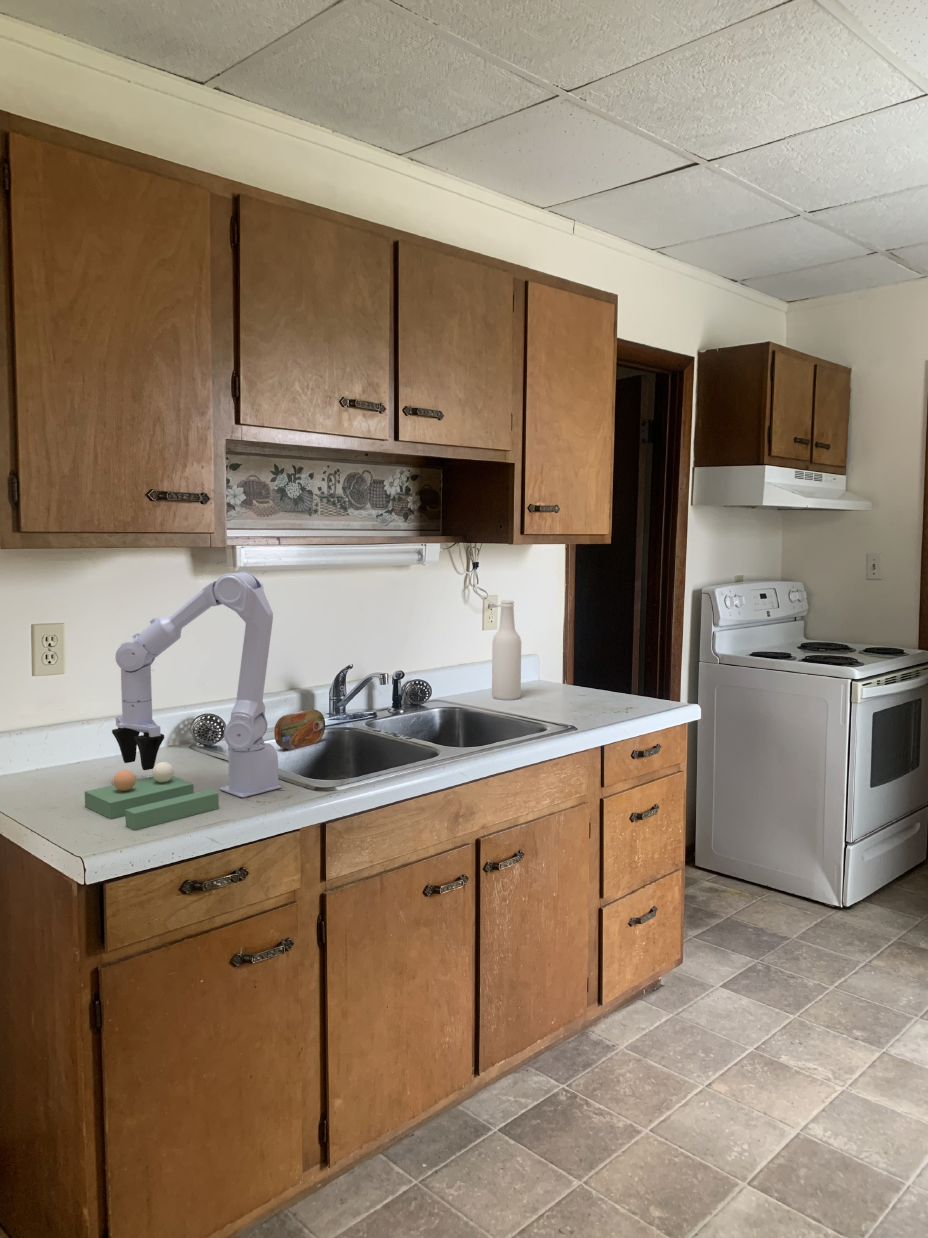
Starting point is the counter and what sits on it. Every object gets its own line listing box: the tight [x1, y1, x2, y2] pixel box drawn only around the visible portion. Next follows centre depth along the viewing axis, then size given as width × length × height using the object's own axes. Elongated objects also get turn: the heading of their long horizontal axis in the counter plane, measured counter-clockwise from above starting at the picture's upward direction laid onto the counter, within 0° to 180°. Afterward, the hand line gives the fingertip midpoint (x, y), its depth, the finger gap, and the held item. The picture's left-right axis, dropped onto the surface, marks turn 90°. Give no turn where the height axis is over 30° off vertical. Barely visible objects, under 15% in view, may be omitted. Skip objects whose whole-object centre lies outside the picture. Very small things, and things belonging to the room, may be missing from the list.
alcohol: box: [491, 599, 522, 701], centre depth 284 cm, size 9×9×30 cm
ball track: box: [84, 775, 220, 831], centre depth 176 cm, size 17×19×3 cm
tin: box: [273, 709, 326, 751], centre depth 224 cm, size 15×3×8 cm, turn 144°
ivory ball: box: [151, 761, 175, 783], centre depth 182 cm, size 4×4×4 cm
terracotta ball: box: [112, 769, 137, 791], centre depth 176 cm, size 4×4×4 cm
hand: (138, 765), depth 189 cm, fingers open, 7 cm apart
